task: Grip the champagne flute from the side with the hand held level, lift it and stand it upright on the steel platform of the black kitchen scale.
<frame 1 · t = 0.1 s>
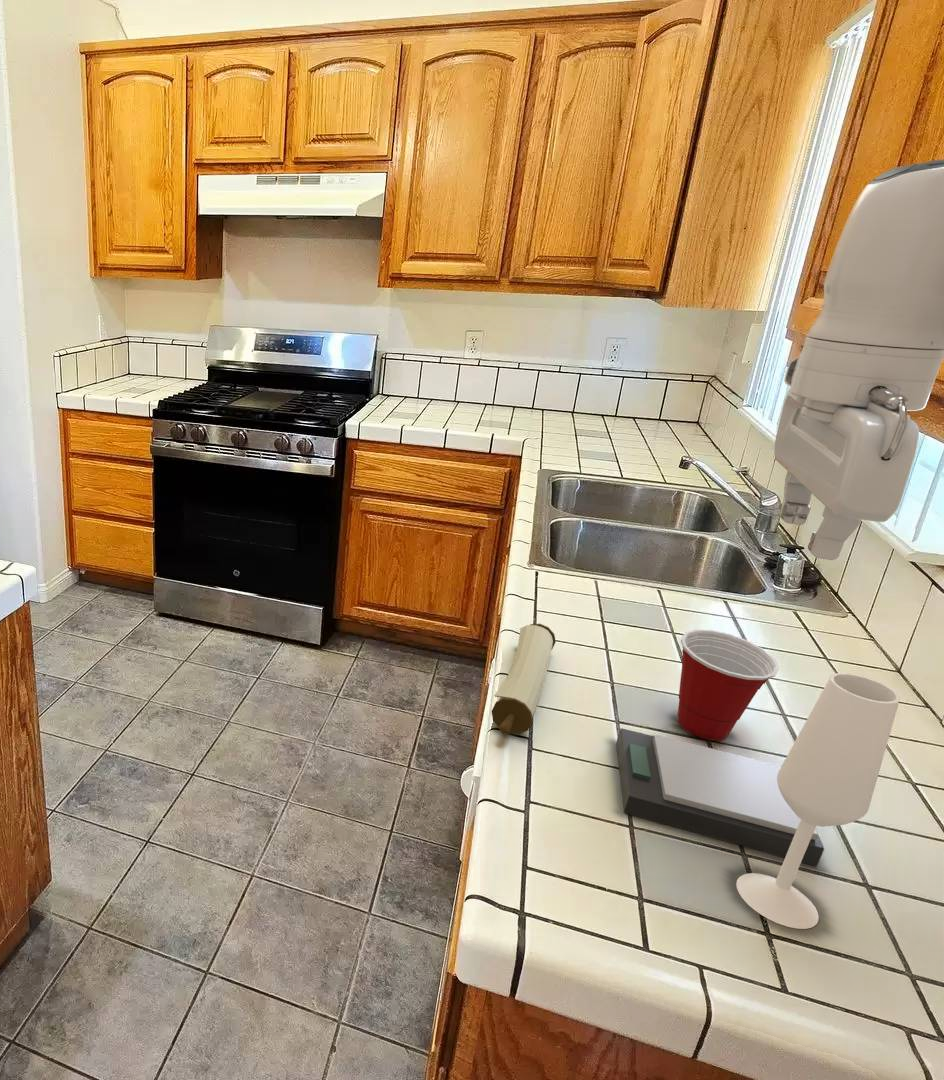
hand: (805, 538, 66), 35 cm above the countertop, tool pointing down, fingers open, 8 cm apart
kitchen scale: (705, 798, 87), on the countertop
champagne flute: (775, 901, 73), on the countertop
plastic cup: (703, 730, 100), on the countertop
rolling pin: (521, 690, 107), on the countertop
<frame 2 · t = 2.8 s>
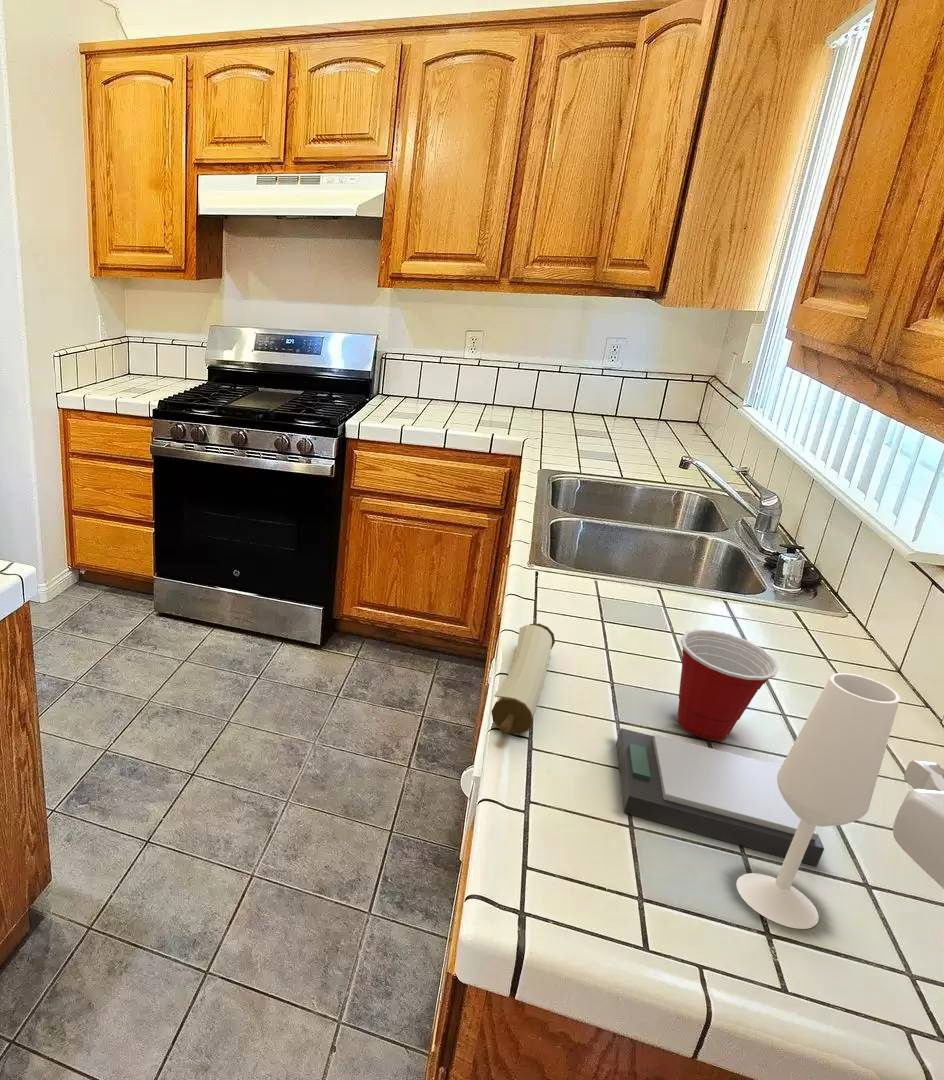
nothing on the countertop moved.
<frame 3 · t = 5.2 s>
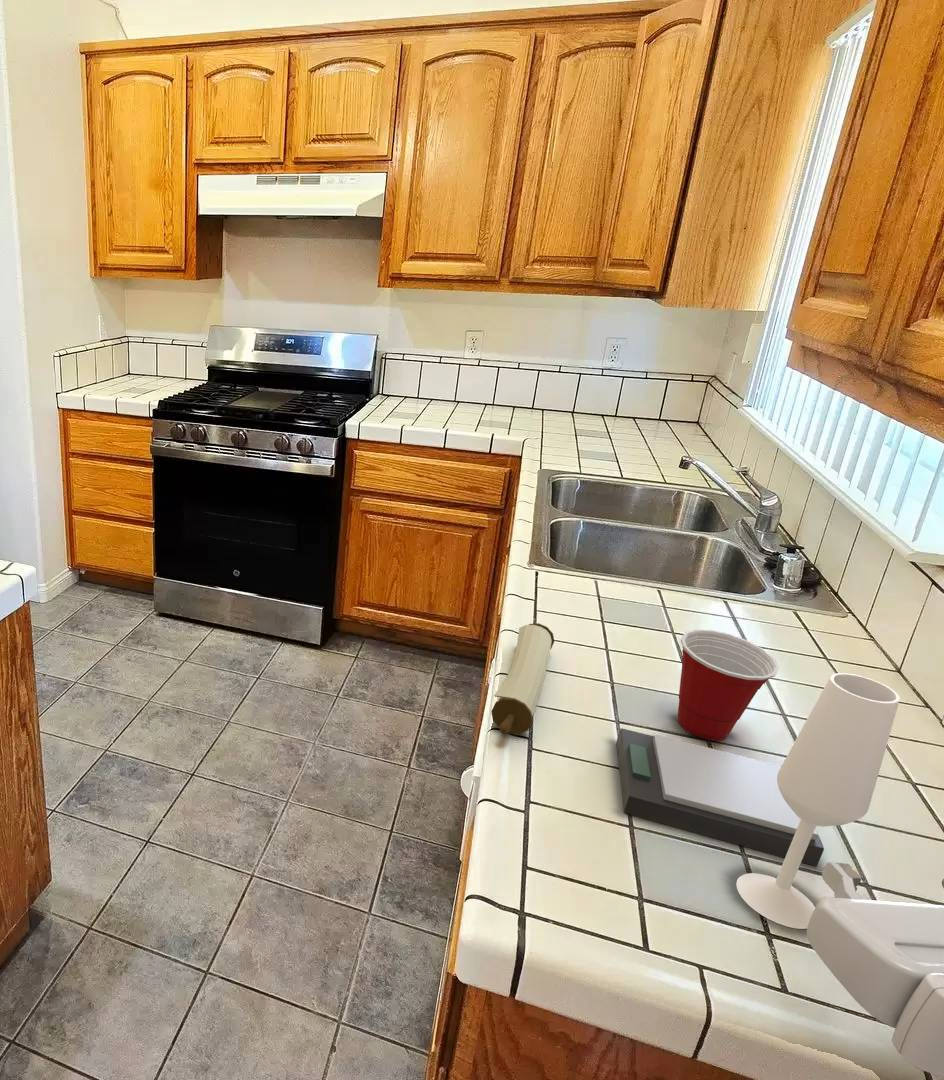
hand: (892, 872, 61), 12 cm above the countertop, tool horizontal, fingers open, 8 cm apart
nothing on the countertop moved.
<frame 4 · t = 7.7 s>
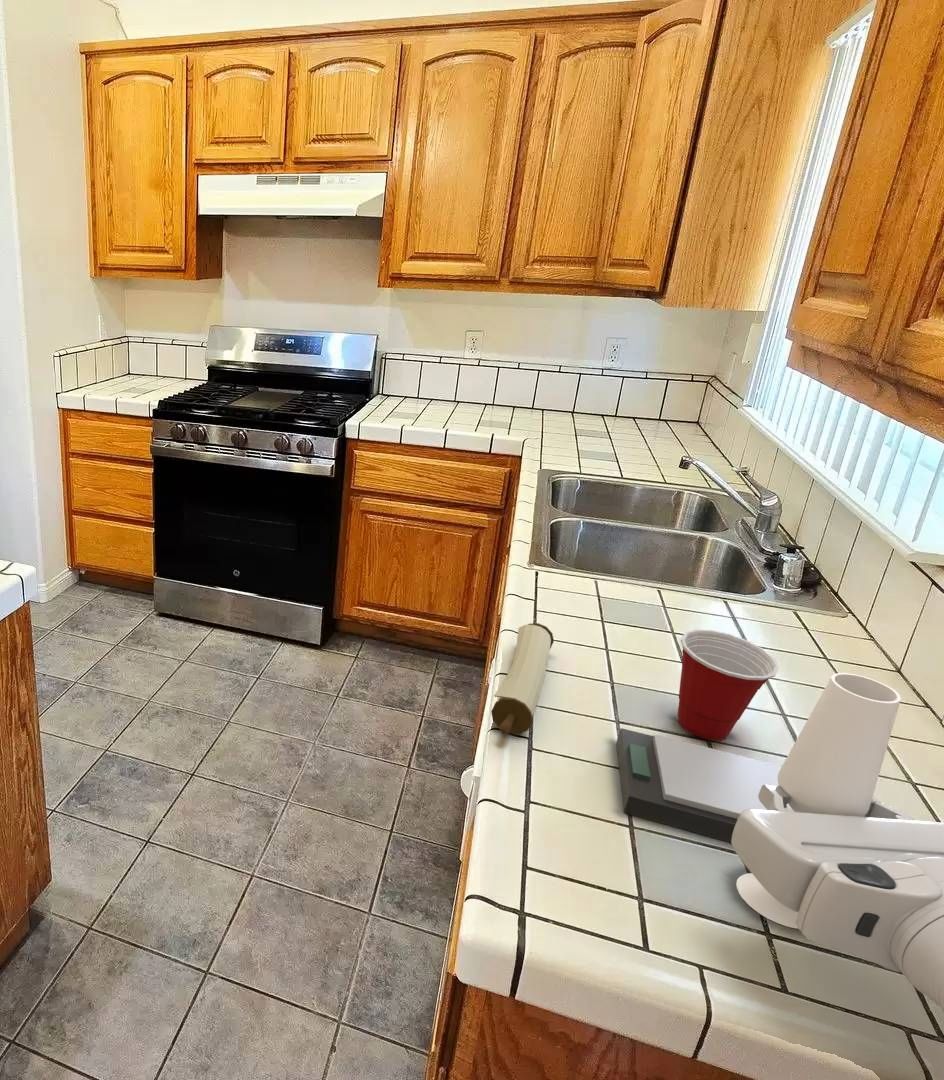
hand: (811, 794, 70), 12 cm above the countertop, tool horizontal, fingers closed on champagne flute, 6 cm apart
champagne flute: (775, 901, 73), on the countertop, touching gripper
everything else where it was.
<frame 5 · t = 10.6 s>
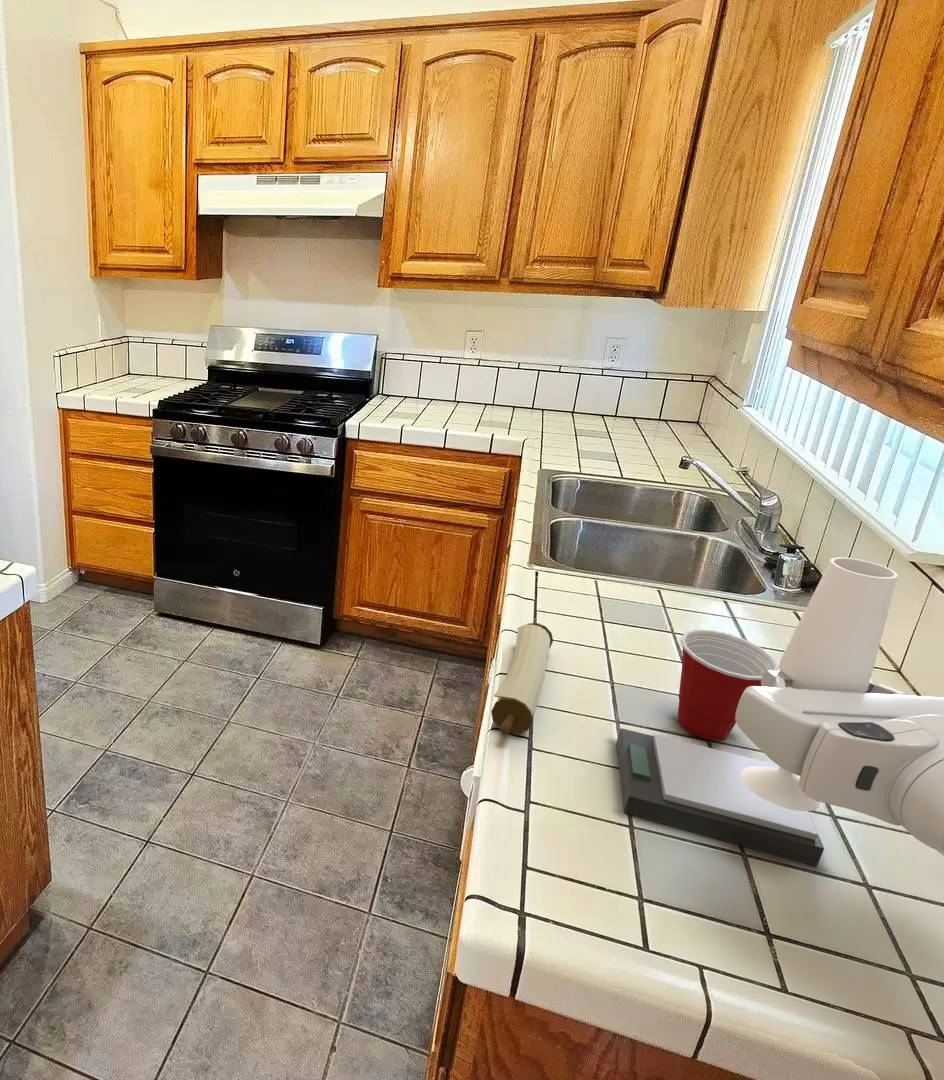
hand: (812, 679, 72), 21 cm above the countertop, tool horizontal, fingers closed on champagne flute, 6 cm apart
champagne flute: (778, 789, 75), point 9 cm above the countertop, touching gripper
everything else where it was.
when the fingers open (15 cm above the countertop, at t = 14.0 s): champagne flute stays where it is, resting on kitchen scale.
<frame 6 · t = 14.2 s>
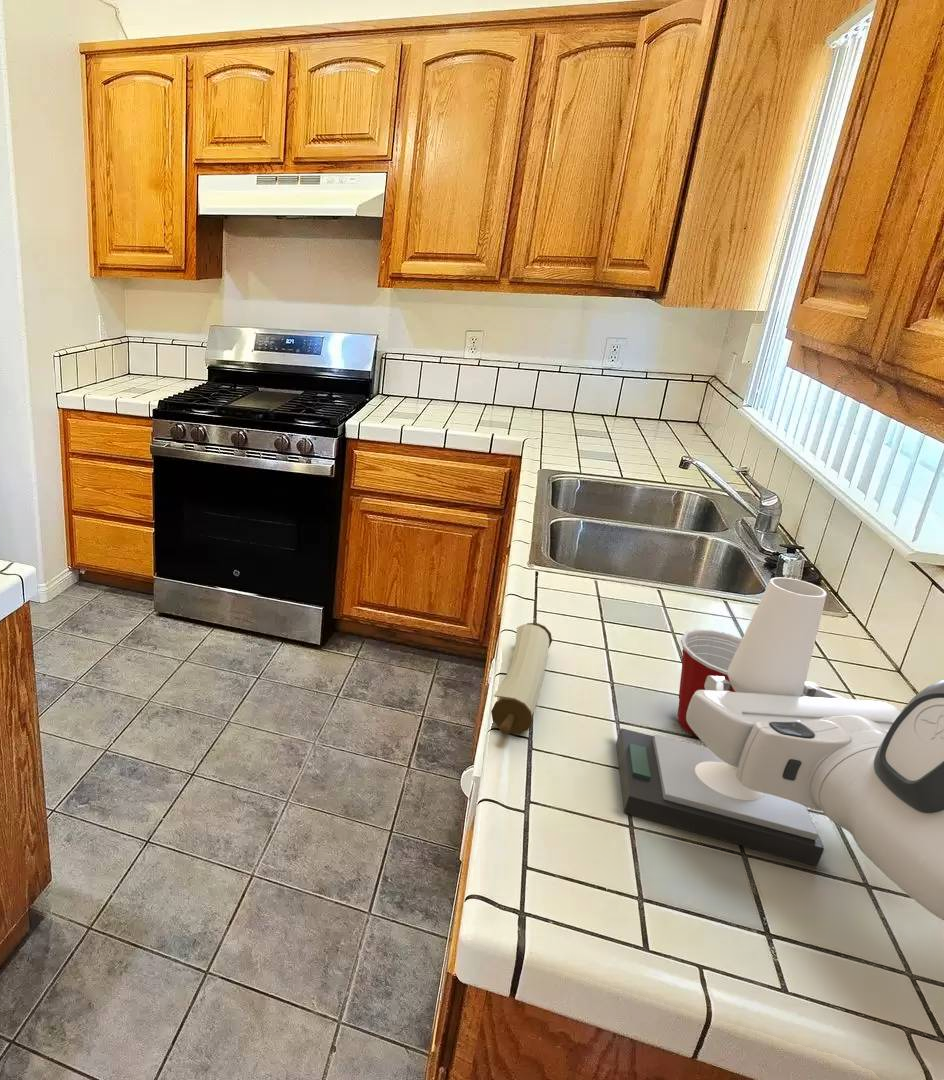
hand: (756, 684, 81), 15 cm above the countertop, tool horizontal, fingers open, 8 cm apart
champagne flute: (728, 781, 85), point 3 cm above the countertop, touching kitchen scale
everything else where it was.
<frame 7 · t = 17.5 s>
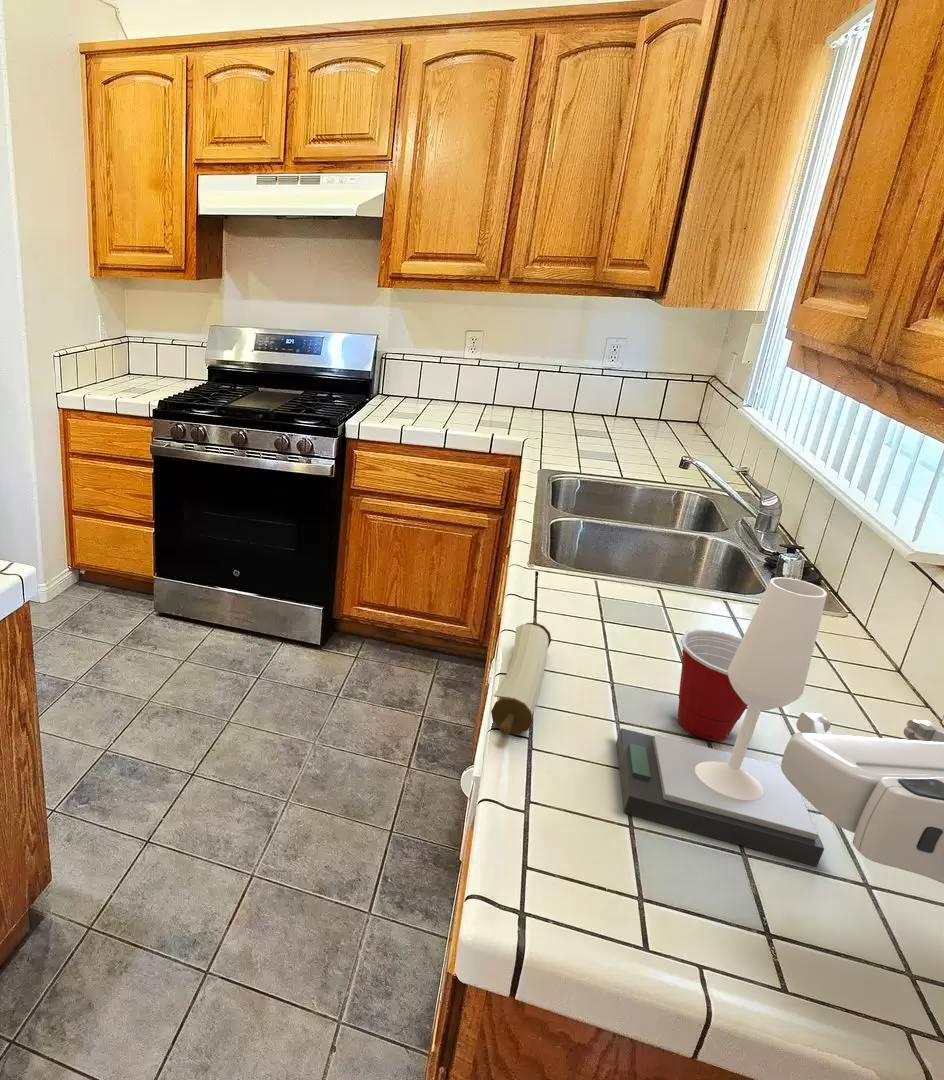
hand: (859, 722, 68), 19 cm above the countertop, tool horizontal, fingers open, 8 cm apart
nothing on the countertop moved.
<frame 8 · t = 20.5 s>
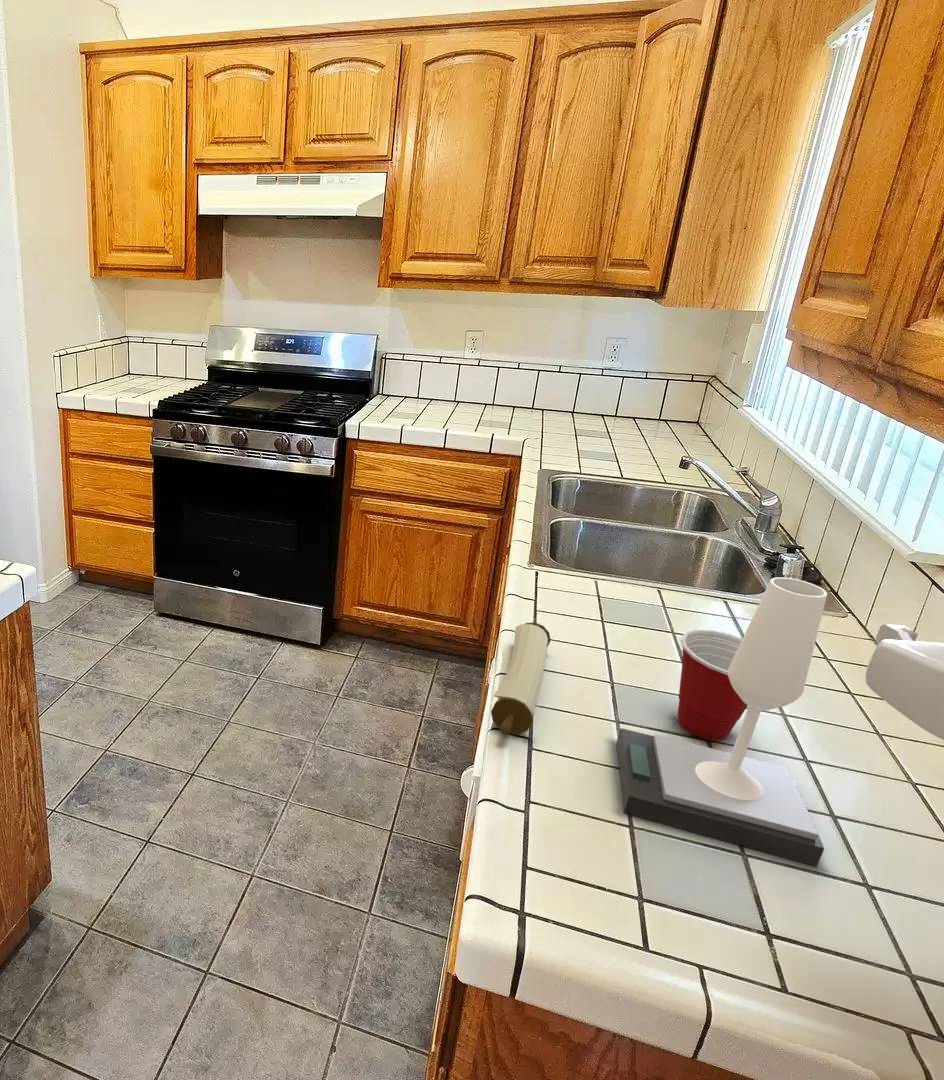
nothing on the countertop moved.
at the end: champagne flute inside the target area on the kitchen scale (0.1 cm from its centre), point 3.0 cm above the kitchen scale's base; champagne flute tilted 0°; the gripper is holding nothing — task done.
